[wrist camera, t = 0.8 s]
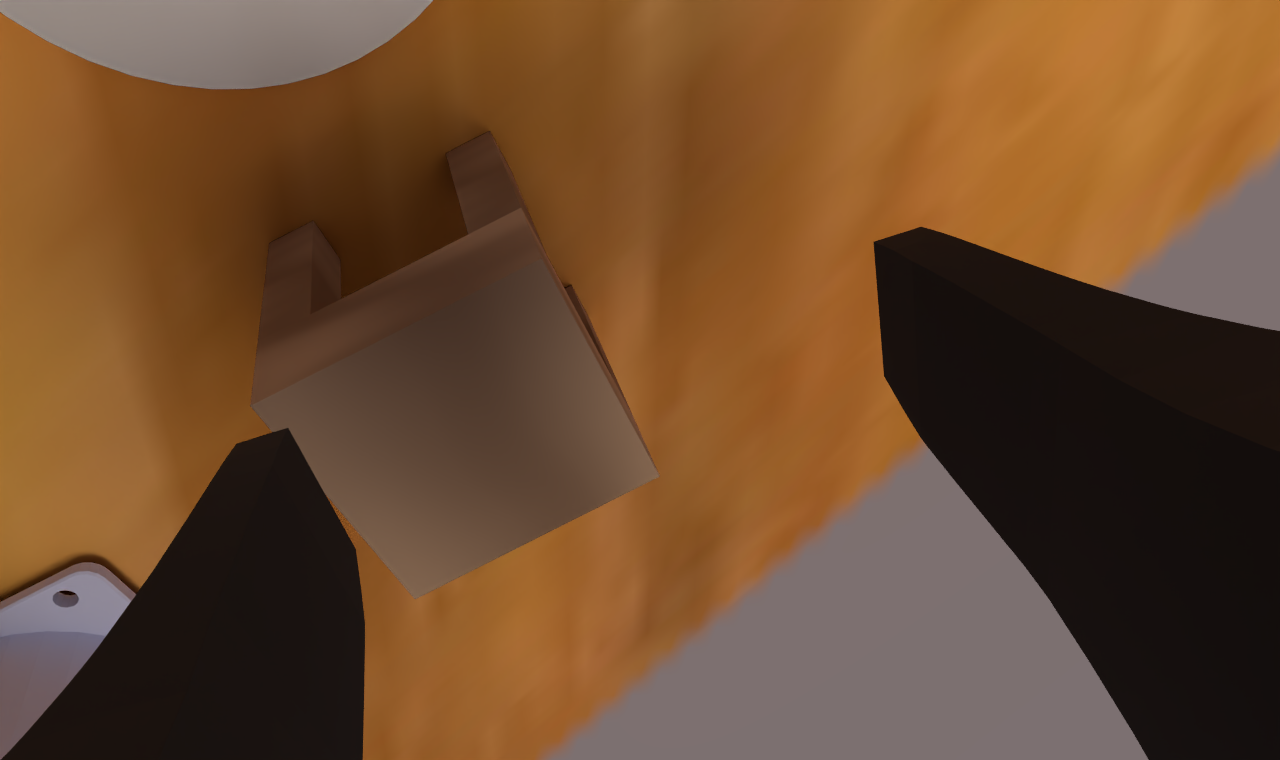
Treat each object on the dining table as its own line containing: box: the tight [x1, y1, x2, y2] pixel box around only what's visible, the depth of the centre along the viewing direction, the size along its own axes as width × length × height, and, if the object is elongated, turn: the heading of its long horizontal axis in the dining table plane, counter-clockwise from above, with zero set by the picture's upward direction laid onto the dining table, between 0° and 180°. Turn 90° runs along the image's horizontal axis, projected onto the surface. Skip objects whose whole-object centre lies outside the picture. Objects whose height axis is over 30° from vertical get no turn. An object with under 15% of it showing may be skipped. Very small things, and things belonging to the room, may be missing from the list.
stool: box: [250, 131, 659, 599], centre depth 19 cm, size 5×5×6 cm
